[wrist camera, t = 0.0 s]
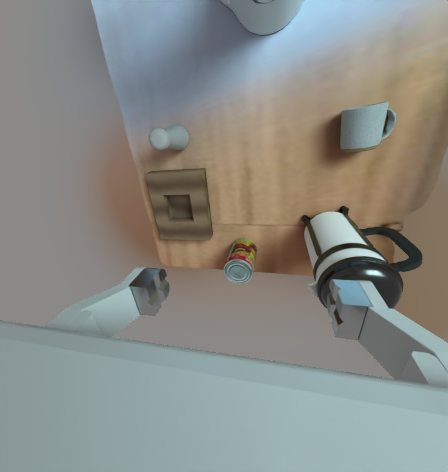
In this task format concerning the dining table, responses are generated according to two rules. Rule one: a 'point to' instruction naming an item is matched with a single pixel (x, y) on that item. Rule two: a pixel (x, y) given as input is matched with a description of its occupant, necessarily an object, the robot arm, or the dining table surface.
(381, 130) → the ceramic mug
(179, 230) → the walnut holder
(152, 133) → the salt shaker
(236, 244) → the canned food
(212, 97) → the dining table surface
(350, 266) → the coffee press
